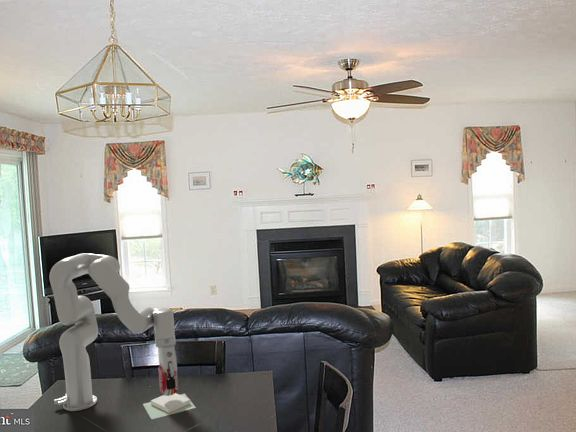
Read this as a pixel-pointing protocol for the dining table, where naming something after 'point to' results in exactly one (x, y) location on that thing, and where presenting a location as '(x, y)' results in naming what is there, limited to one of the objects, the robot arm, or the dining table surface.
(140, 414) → the dining table surface
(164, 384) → the soda can
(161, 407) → the tile
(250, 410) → the dining table surface
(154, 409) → the mat
